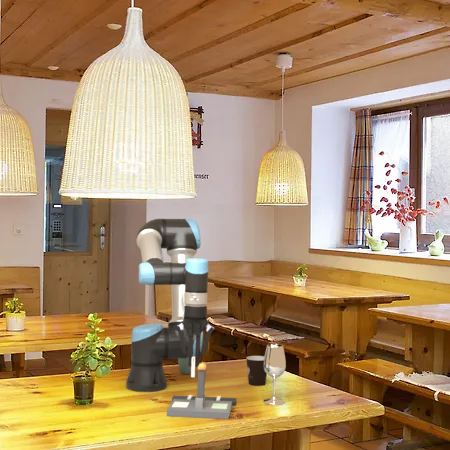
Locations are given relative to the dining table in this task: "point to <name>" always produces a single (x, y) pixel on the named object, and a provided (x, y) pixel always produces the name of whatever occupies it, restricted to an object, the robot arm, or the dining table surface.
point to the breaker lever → (201, 379)
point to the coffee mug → (256, 370)
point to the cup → (184, 366)
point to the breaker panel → (200, 408)
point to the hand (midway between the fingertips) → (193, 376)
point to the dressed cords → (206, 398)
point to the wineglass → (274, 368)
